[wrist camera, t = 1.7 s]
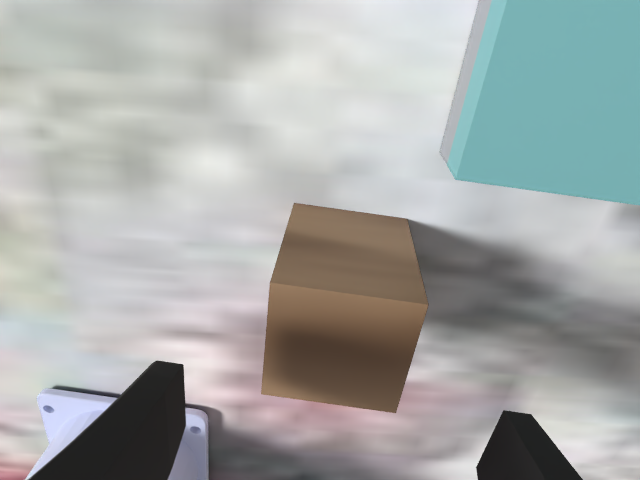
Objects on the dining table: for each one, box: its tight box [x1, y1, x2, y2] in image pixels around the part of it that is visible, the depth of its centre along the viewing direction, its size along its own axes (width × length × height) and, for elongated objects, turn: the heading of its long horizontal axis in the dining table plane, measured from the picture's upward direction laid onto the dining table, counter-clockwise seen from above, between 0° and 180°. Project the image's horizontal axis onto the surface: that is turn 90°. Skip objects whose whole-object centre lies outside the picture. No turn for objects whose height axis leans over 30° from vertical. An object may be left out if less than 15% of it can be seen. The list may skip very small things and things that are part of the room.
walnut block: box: [261, 203, 428, 413], centre depth 14 cm, size 4×4×5 cm
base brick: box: [440, 0, 640, 205], centre depth 11 cm, size 7×7×2 cm
